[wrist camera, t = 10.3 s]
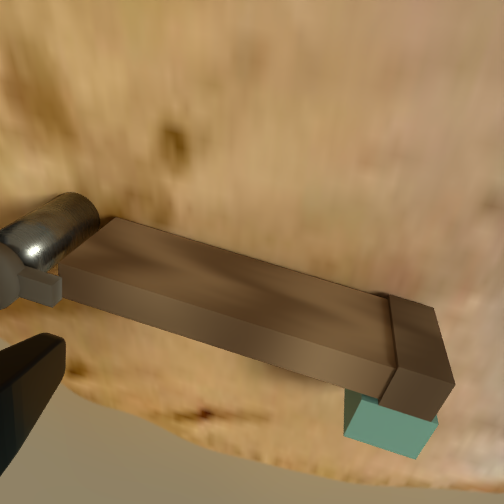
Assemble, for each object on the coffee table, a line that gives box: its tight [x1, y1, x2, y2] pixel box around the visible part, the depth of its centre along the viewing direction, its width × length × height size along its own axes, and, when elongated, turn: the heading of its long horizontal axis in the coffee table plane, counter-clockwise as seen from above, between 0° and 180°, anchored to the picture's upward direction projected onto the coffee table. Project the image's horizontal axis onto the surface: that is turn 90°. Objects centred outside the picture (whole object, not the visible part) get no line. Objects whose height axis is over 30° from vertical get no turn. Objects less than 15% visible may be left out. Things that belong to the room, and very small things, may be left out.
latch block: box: [344, 388, 439, 460], centre depth 19 cm, size 3×2×5 cm
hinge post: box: [0, 192, 100, 272], centre depth 19 cm, size 2×2×5 cm
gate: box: [0, 217, 455, 422], centre depth 18 cm, size 18×3×6 cm, turn 77°
